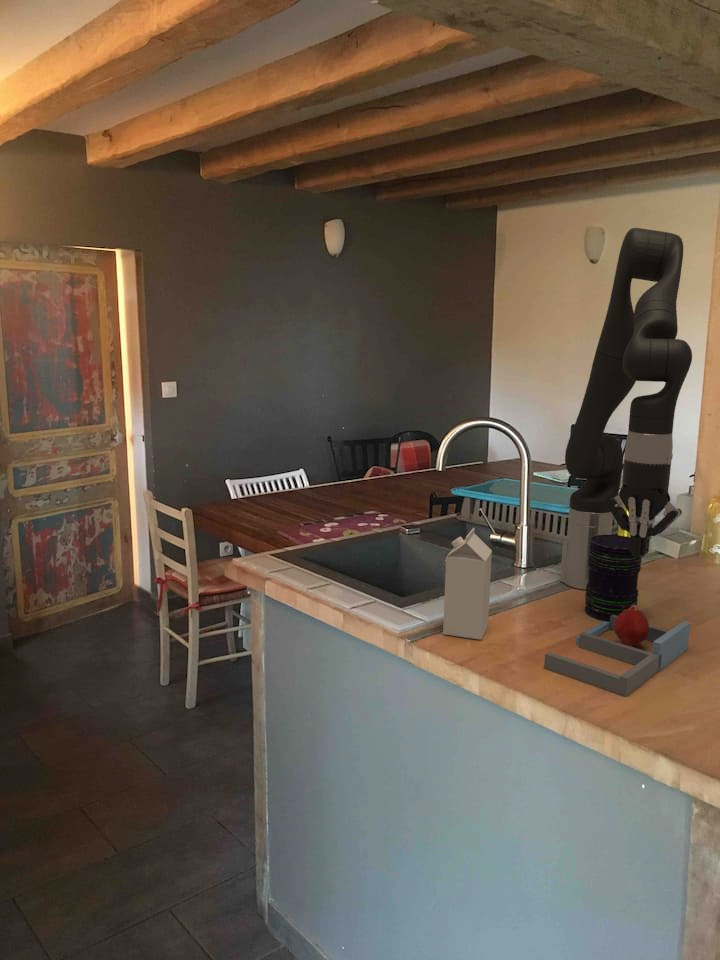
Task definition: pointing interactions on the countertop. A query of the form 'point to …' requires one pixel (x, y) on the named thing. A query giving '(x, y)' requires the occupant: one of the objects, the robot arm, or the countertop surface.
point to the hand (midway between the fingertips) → (638, 556)
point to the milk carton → (467, 588)
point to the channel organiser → (622, 657)
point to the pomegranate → (631, 626)
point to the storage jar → (611, 577)
